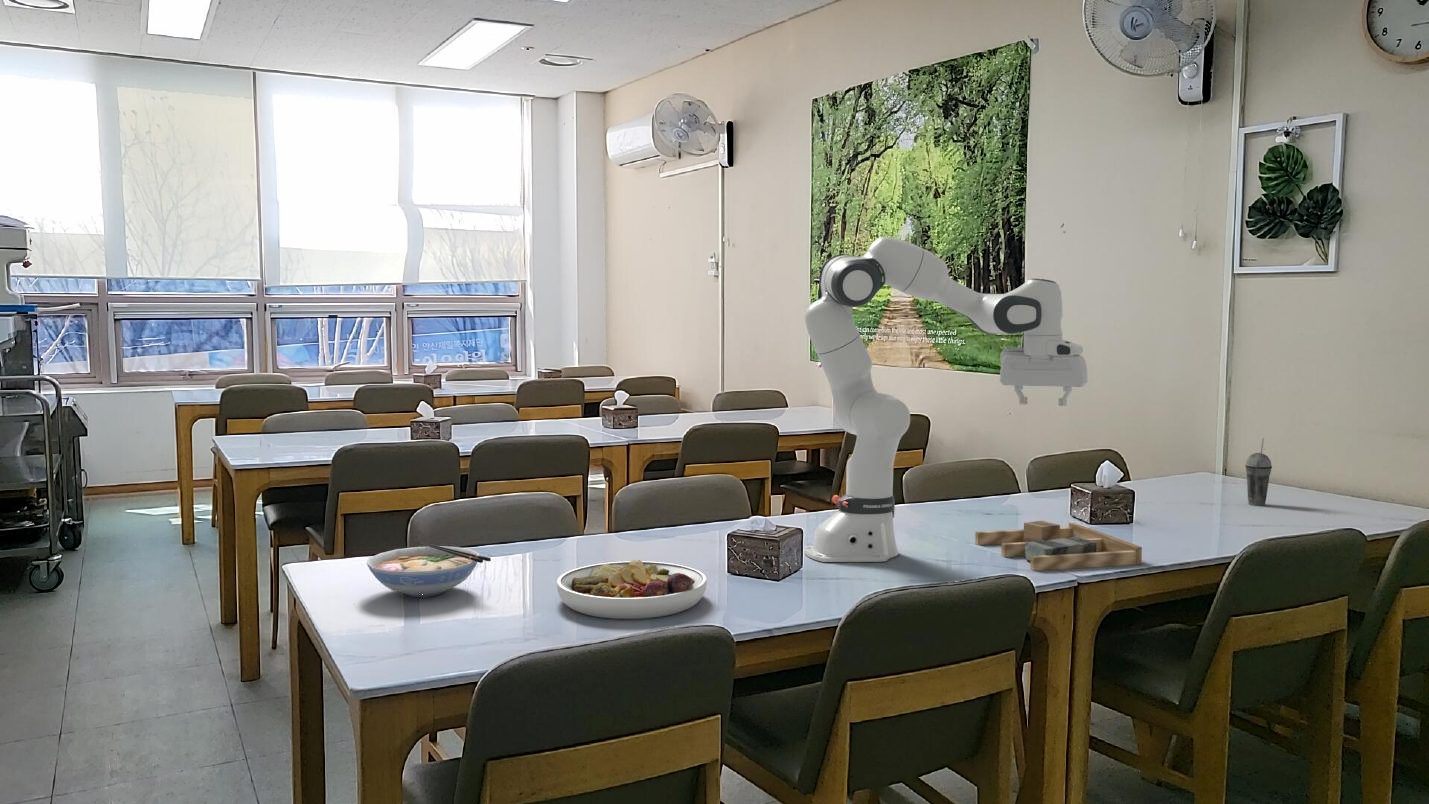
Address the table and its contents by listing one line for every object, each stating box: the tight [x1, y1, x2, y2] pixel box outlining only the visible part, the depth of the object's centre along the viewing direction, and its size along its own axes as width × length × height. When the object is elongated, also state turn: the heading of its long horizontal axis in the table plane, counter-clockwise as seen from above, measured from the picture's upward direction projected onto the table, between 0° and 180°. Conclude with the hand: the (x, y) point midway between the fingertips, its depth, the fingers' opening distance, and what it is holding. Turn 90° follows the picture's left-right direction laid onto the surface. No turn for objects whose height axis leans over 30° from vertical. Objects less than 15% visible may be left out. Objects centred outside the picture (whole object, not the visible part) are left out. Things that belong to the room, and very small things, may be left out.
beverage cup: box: [1244, 438, 1273, 507], centre depth 326 cm, size 7×7×20 cm
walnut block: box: [1023, 520, 1061, 542], centre depth 269 cm, size 6×6×6 cm
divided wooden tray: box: [974, 522, 1143, 572], centre depth 262 cm, size 28×28×4 cm
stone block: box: [1025, 537, 1097, 563], centre depth 254 cm, size 9×14×5 cm, turn 109°
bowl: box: [556, 559, 708, 620], centre depth 220 cm, size 30×30×8 cm
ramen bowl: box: [366, 541, 492, 598], centre depth 226 cm, size 25×23×8 cm
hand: (1042, 405), depth 260 cm, fingers open, 8 cm apart
